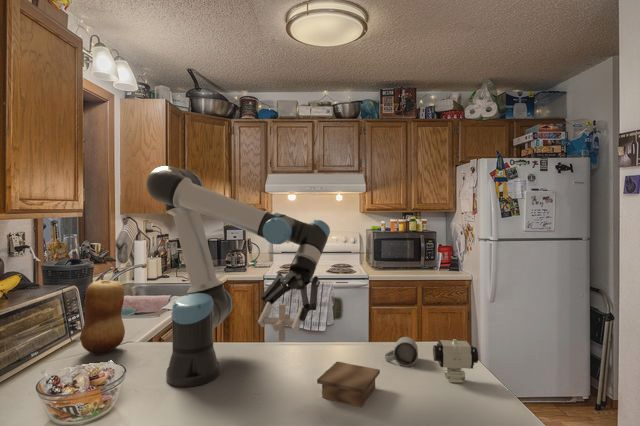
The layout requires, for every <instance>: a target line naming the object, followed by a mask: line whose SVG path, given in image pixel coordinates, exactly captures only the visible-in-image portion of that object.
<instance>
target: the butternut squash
mask: <svg viewBox="0 0 640 426" xmlns="http://www.w3.org/2000/svg"><path fill="white" fill-rule="evenodd" d="M124 300H125V290H124V286H123V284H122V282H120V281H119V280H108V279H107V280H104V279H100V280H96V281H93V282H90V284H89V285H88V286H87V288H86V290H85V295H84V304H83V305H84V306H83V309H84V325H83V326H82V329H81V332H80V335H79V336H80V337H79V341H80V342H81V346H82V348H83V349H84V350H86V351H87V352H88V353H90V354H92V355H94V356H101V355H103V354H107V353H110V352H112V351H113V350H114V349H116V348H118V347H119V346H120V345H121V344H122V342H123V341H124V338H125V332H126V328H125V324H124V321H123V319H122V311H123V305H124Z"/></svg>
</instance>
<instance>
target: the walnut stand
mask: <svg viewBox="0 0 640 426" xmlns="http://www.w3.org/2000/svg"><path fill="white" fill-rule="evenodd" d="M380 370H381V369H378V368H372V367H368V366H362V365H359V364H352V363H347V362H342V361H336V362H335V363H333V364H332V365H331V366H330V367H329V368H328V369H327V370H325V372H323V374H321V375H320V376H319V377H318V378H317V379H316V383H317V384H319V385H321V389H322V390H321V391H322V392H321V393H322V394H321V397H322V398H323V399H327V400H331V401H336V402H338V403H343V404H346V405H347V404H348V405H351V406H356V407H359V408H360V407H361V408H362V407H363V406H364V405H365V403H366V402H367V400H368V399H369V397H370V396H371V395H372V394H373V392H374V390H375V389H376V379H377V378H378V376H379V375H380V372H381V371H380Z"/></svg>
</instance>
